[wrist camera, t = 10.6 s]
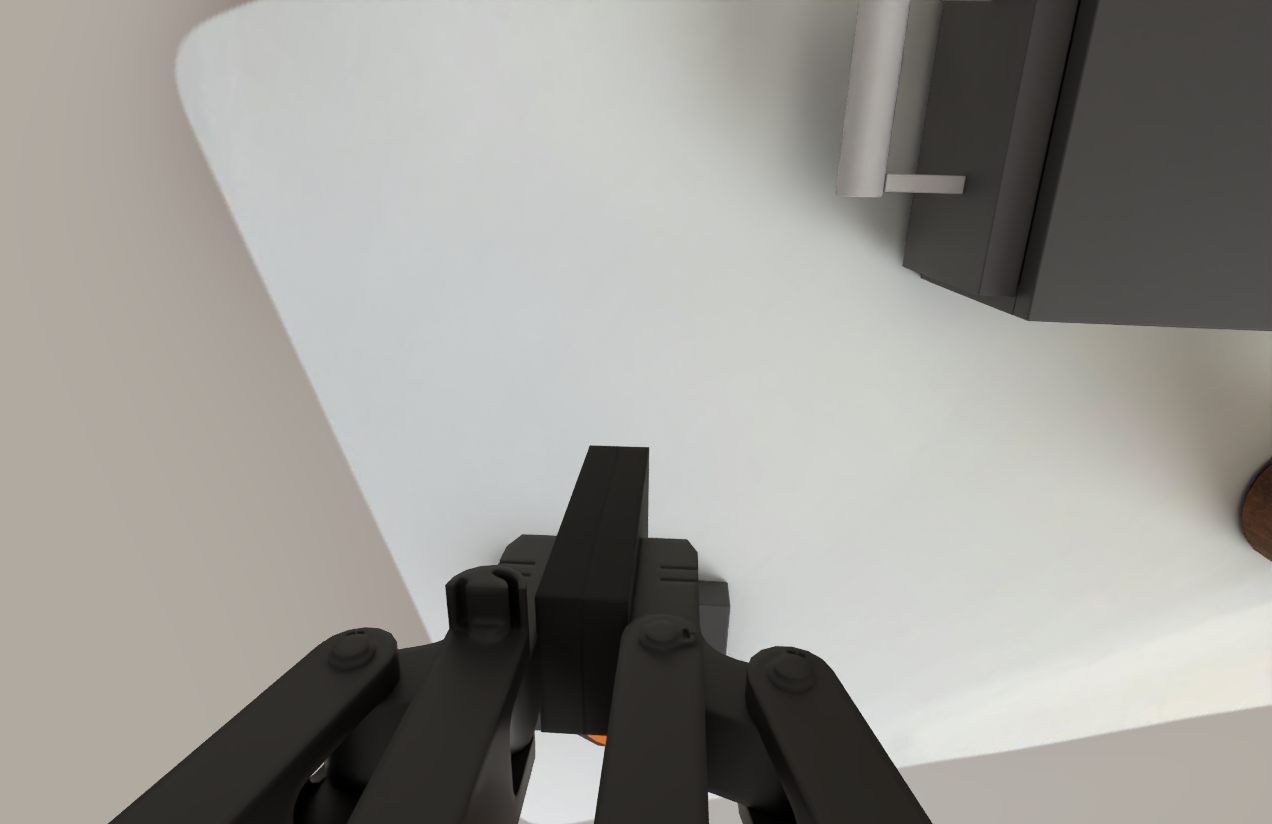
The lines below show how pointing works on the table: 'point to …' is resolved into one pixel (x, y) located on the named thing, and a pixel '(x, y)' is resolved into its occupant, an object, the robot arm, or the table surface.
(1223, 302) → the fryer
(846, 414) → the table surface
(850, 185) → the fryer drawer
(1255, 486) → the mug
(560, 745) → the table surface
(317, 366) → the table surface
